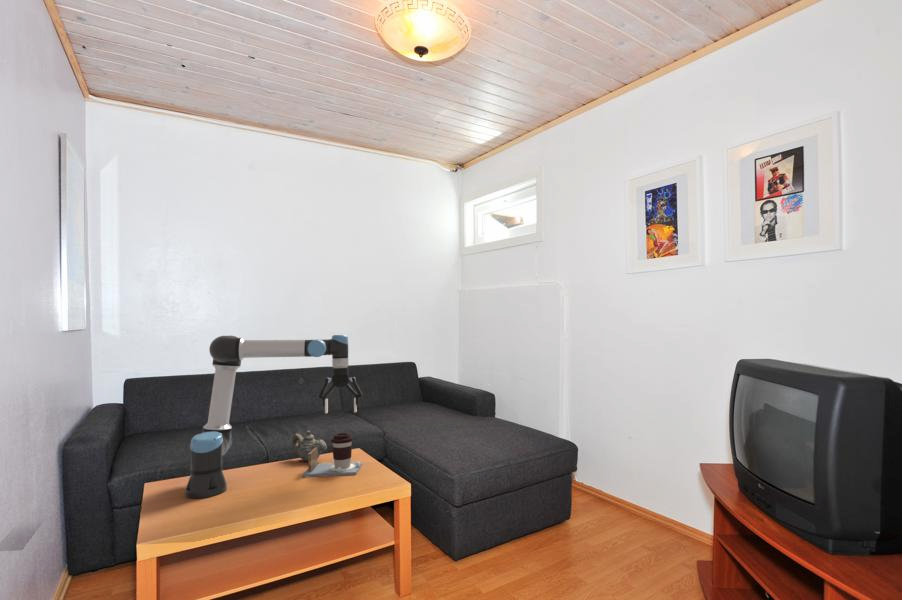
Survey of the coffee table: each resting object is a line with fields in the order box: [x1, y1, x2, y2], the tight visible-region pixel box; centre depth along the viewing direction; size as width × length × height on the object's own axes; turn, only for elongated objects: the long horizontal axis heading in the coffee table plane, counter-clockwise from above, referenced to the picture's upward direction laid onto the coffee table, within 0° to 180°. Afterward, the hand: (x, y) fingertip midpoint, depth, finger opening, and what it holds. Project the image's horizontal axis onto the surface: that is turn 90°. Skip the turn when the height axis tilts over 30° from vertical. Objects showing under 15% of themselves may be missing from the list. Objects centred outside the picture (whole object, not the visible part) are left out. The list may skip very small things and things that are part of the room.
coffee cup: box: [330, 432, 354, 469], centre depth 217 cm, size 10×10×15 cm
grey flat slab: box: [302, 461, 363, 478], centre depth 217 cm, size 24×17×3 cm
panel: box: [307, 447, 319, 472], centre depth 216 cm, size 3×12×8 cm, turn 2°
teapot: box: [291, 430, 328, 462], centre depth 236 cm, size 21×12×15 cm, turn 68°
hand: (341, 412), depth 219 cm, fingers open, 13 cm apart
